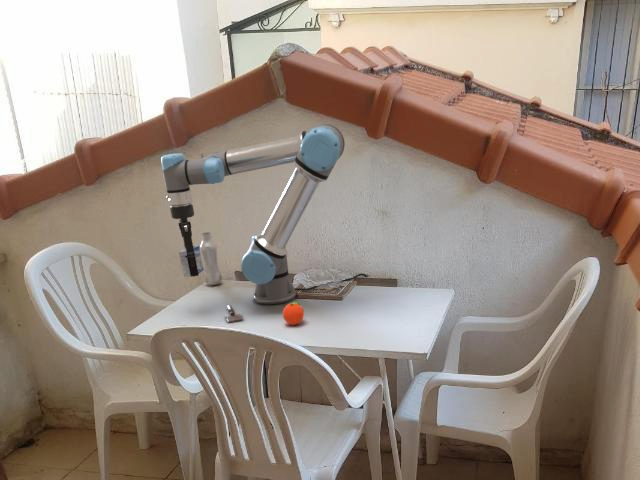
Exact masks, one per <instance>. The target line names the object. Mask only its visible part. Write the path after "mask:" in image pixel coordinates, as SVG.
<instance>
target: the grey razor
mask: <svg viewBox="0 0 640 480" xmlns="http://www.w3.org/2000/svg"><path fill="white" fill-rule="evenodd" d="M226 308H227V311H228V313H229V315H226V316H225V319H226V320H227V321H226V322H227V323H228V324H230V323H236V322H243V317H242V316H241V314H240V313H237V314H236V313H235V311H234V309H233V307H232V304H228V305H227V306H226Z"/></svg>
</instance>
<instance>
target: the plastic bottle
mask: <svg viewBox="0 0 640 480" xmlns="http://www.w3.org/2000/svg"><path fill="white" fill-rule="evenodd" d="M201 239H202V241H201V244H200V245H199V247H200V253H201V257H202V261H203V263H204V264H203V266H204V280H205V283H206V284H207V285H209V286H215V285H219V284H221V282H222V273H221V271H220V267H219V263H218V249H217V248H218V246H217V244H216V242H215V241H214V240H213V239H212V232H211V231H210V232H209V231H208V232H207V231H206V232H202V233H201Z"/></svg>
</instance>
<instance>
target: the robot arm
mask: <svg viewBox="0 0 640 480" xmlns="http://www.w3.org/2000/svg"><path fill="white" fill-rule="evenodd" d="M345 146H346V145H345V137H344V135H343V133H342V131H341V130H340V129H339V128H338V127H336V126H335V125H333V124H328V123H324V124H321V125H318V126H316V127H313V128H311V129H308V130H303V131H301V132H300V133H299V135H295V136H291V137H286V138H282V139H276V140H272V141H268V142H263V143H257V144H252V145H249V146H248V145H247V146H243V147H238V148H233V149H229V150H225V151H215V152H212V153H210V154H208V155H206V156H205V157H202V158H198V159H197V158H195V159H186V157H185V155H184V154H183V153H181V152H180V153H171V154H170V153H168V154H165V155H163V156H161V158H160V162H161V169H162V171H161V172H162V174H163V175H162V176H163V179H164V184H165V188H166V189H165V190H166V194H167V195H165V199H166V200H168V204H169V205H170V207H169V210H170V215H171V218H172V219H174V220H179V222H178V228H179V231H180V235H181V237H182V239H183V247H184V249H185V248H186V252H187V255H186V256H185V258H187V260H188V265H189V270H190V276H191V278H192V276H195V277H198V276H199V275H200V273H199V274H198V269H197V264H196V258H195V253H194V248H193V246H194V244H193V238H192V237H193V233H192V224H191V223H192V222H191V221H189V220H188V218H192V217H194V216H195V210H194V205H193V204H192V203H193V197H192V192H191V188H190V186H193V185H194V186H195V185H214V184H219V183H222V182H224V180H225V177H228V176H232V175H236V174H241V173H246V172H251V171H257V170H261V169H267V168H271V167H277V166H283V165H287V164H292V163H294V166H295V169H294V171H293V173H292V175H291V177H290V179H289V181H288V183H287V185H286V187H285V188H284V191H283V192H282V194H281V197H280V198H279V200H278V202H277V203H276V206H275V208H274V210H273V212H272V214H271V216H270V218H269V220H268V221H267V224H266V226H265V228H264V230H263V231H262V233H257V234H256V235H253V236H251V244H250V246H249V248H248V250H247V252H246V253H245V254H244V255H243V257H242V258H241V264H240V268H241V272H242V274H243V275H244V277H245V278H246V280H248V281H249V282H250V283H253V284H255V288H254V291H252V295H253V297H254V302H255V303H257V304H261V305H279V304H280V305H281V304H284V303H289V302H291V301H293V300H294V299H295V298H296V297H297V291H310V290H313V289H315V288H317V287H319V286H315V285H313V286H310V287H306V289H305V288H301V287H294V284H293V281H292V280H291V277H290V275H289V273H290V272H289V265H288V256H287V254H288V252H287V247H286V246H287V244H288V242H289V241H290V239H291V237H292V235H293V233H294V231H295V230H296V228H297V225H298V224H299V222H300V220H301V218H302V216H303V214H304V212H305V211H306V210H307V207H308V205H309V204H310V202H311V200H312V197H313V196H314V194H315V192H316V190H317V189H318V186H319V185H320V183H323V182H326V181H327V180H328V178H329V176H330V175H331V173H332V171H333V169H334V168H335V165H336V163H338V160H339V159H340V158H341V157H342V155H343V153H344V150H345ZM189 252H192V253H189ZM361 276H363V277H365V278H367V277H368V275H367V274H365V273H358V274H356V275H354V276H352V277H353V278H352V277H349V278H348V277H347V278H344V279H345V280H343V281H341V282H340V283H342V282H348V281H352V280H354V279H357V278H359V277H361Z"/></svg>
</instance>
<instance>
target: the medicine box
mask: <svg viewBox="0 0 640 480" xmlns="http://www.w3.org/2000/svg"><path fill="white" fill-rule="evenodd" d="M193 248H194V253H195V258H196V264H197V269H198V274H199V275H200V274H201V273H202V272H203V271H205V268H204V264H203V263H204V262H203V257H202V253H201V249H200V245H193ZM189 253H192V252H189ZM178 255H179V260H180V265H181V271H182V275H183V277H187V278H188V277H189V278H190V277H191V276H190V270H189V265H188V260H187V258H185V256H186V255H187V252H186V248H185V247H184V248H183V249H181V250H180V251H179V252H178ZM192 277H196V276H192ZM192 277H191V278H192Z"/></svg>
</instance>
